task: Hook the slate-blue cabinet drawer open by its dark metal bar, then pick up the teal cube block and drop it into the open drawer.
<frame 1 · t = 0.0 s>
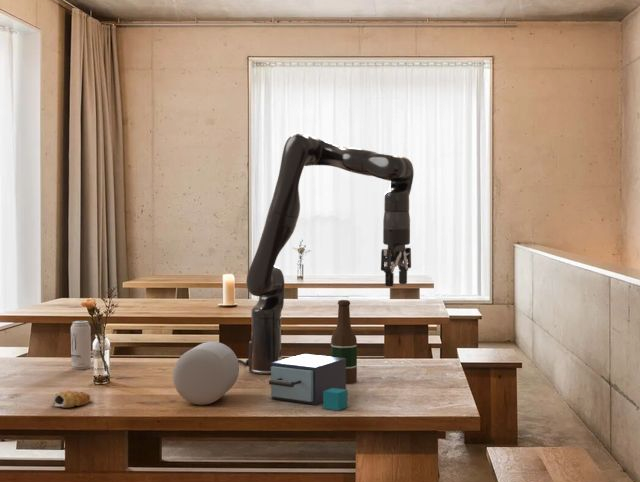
hand: (396, 285, 233), 29 cm above the table, tool pointing down, fingers open, 8 cm apart
pastry: (70, 405, 214), on the table
drawer: (300, 380, 220), point 5 cm above the table, slide at 0.0 cm, touching cabinet
cabinet: (309, 396, 224), on the table
grey rounded piece: (204, 396, 224), on the table
beer bottle: (343, 381, 244), on the table
energy drink can: (81, 368, 264), on the table
teal cube block: (335, 407, 211), on the table
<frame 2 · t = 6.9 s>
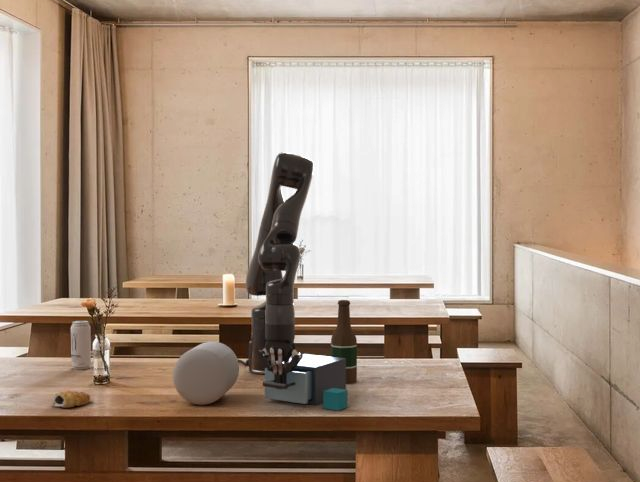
hand: (280, 388, 212), 5 cm above the table, tool pointing down, fingers closed
drawer: (295, 382, 218), point 5 cm above the table, slide at 2.8 cm, touching gripper
everything else where it was.
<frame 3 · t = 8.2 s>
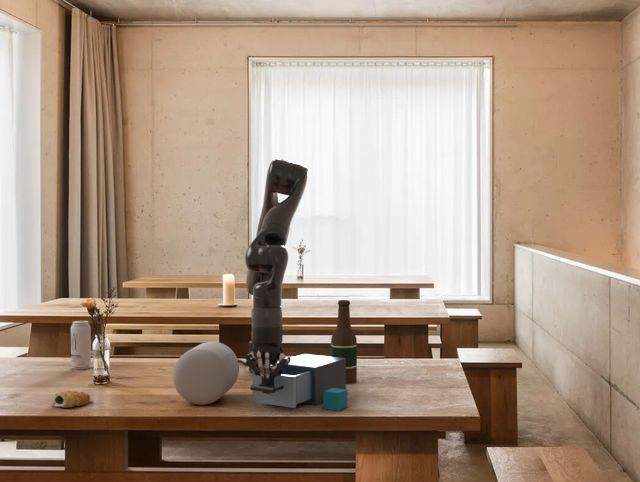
hand: (267, 392, 207), 5 cm above the table, tool pointing down, fingers closed
drawer: (283, 386, 214), point 5 cm above the table, slide at 8.0 cm, touching gripper
everything else where it was.
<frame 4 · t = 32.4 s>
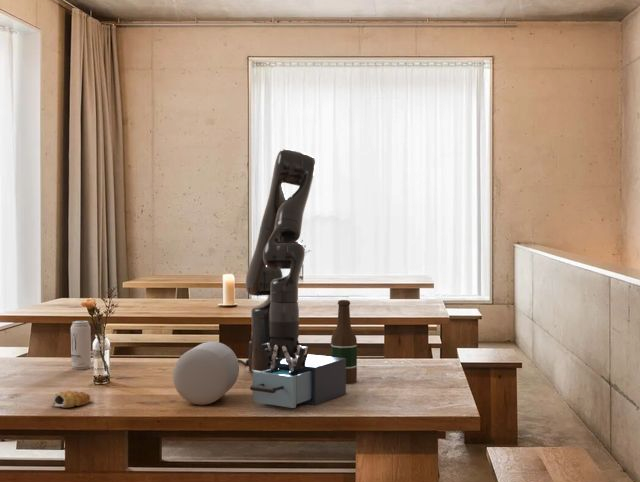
hand: (284, 384, 214), 5 cm above the table, tool pointing down, fingers closed on teal cube block, 4 cm apart
teal cube block: (284, 389, 214), point 4 cm above the table, touching gripper
everything else where it was.
when the fingers open (8 cm above the table, at t = 33.3 s): teal cube block drops 4 cm, resting on drawer.
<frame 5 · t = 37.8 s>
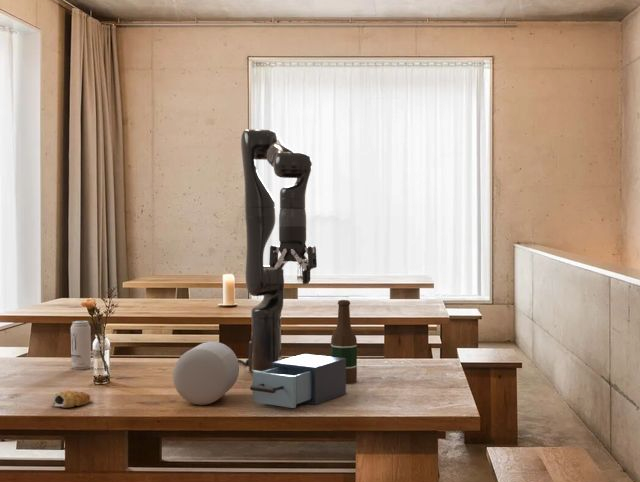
hand: (292, 283, 230), 30 cm above the table, tool pointing down, fingers open, 8 cm apart
drawer: (283, 386, 213), point 5 cm above the table, slide at 8.1 cm, touching teal cube block
teal cube block: (282, 396, 214), point 2 cm above the table, touching drawer
everything else where it was.
at the end: drawer slide at 8.1 cm; teal cube block inside the target area in the drawer (2.0 cm from its centre), point 2.1 cm above the cabinet's base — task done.
